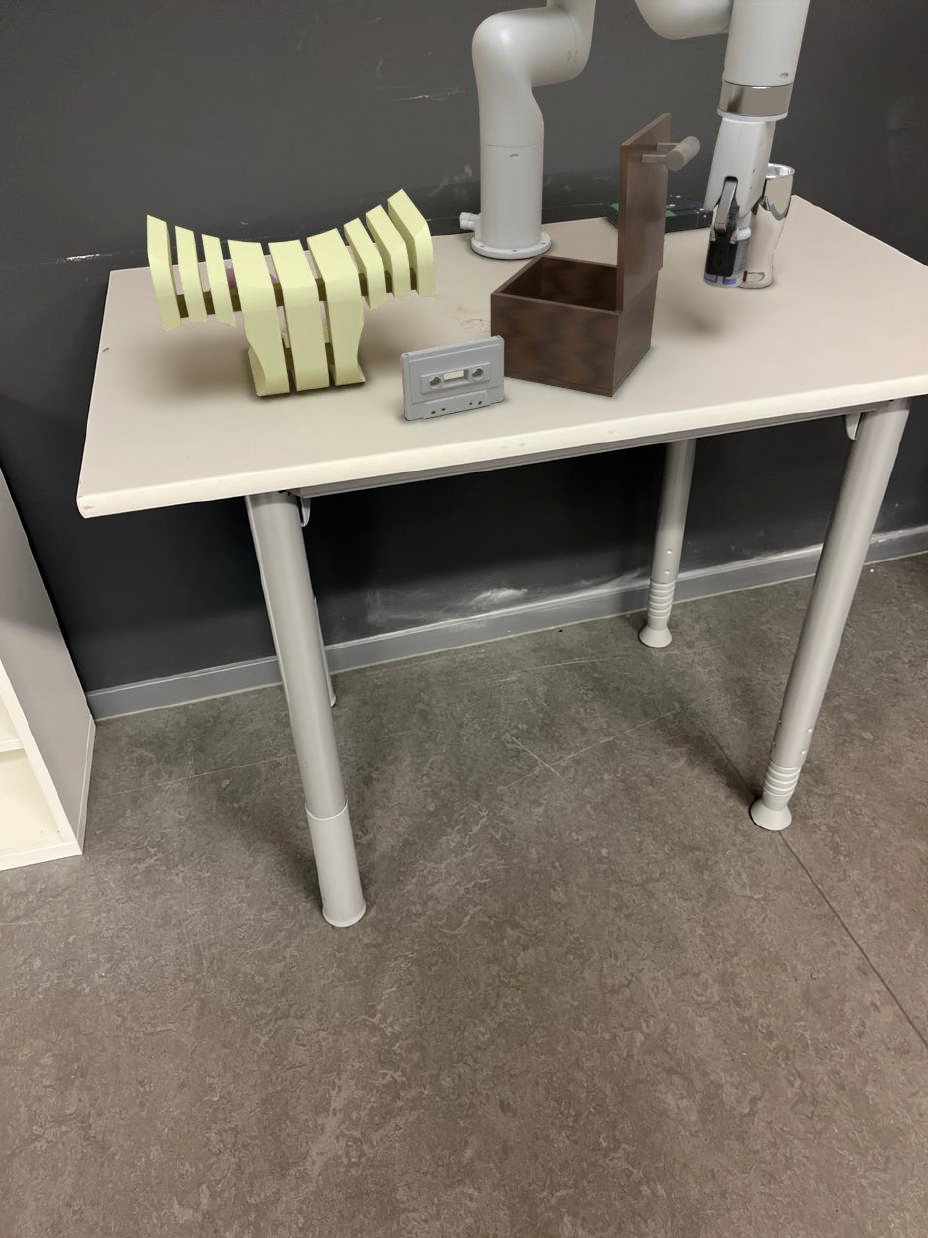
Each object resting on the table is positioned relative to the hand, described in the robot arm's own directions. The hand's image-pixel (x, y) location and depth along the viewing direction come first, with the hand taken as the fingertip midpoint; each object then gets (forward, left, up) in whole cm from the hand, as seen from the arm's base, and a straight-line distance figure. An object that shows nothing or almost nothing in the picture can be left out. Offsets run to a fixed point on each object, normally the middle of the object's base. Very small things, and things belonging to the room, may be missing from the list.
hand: (724, 265), depth 112 cm
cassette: (-22, -30, -10) cm, 38 cm away
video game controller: (-63, -15, -10) cm, 65 cm away
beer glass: (-1, +23, -10) cm, 25 cm away
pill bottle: (0, 0, -2) cm, 2 cm away
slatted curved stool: (-43, -28, -10) cm, 53 cm away
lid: (-8, -12, +9) cm, 17 cm away
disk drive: (-20, +43, -10) cm, 48 cm away
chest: (-15, -12, -10) cm, 21 cm away
